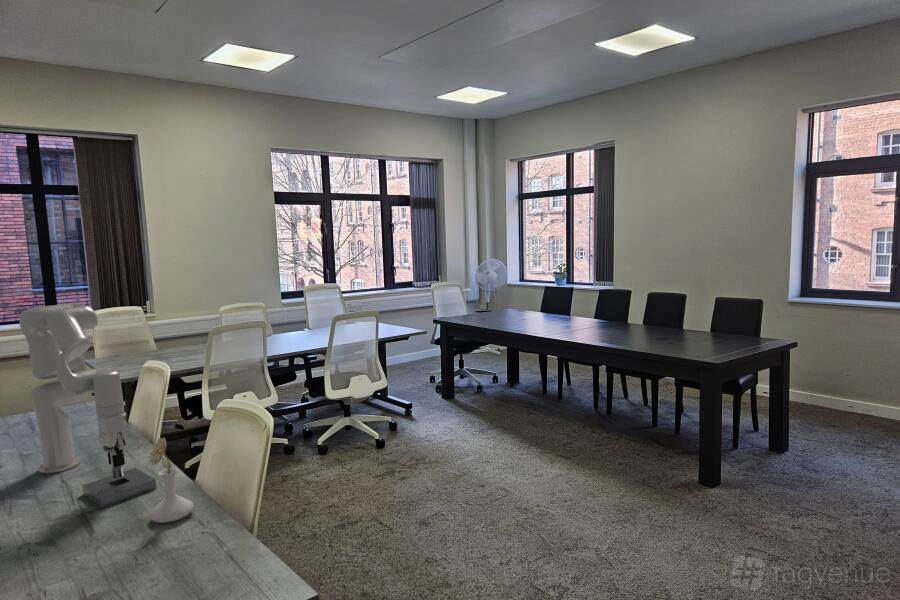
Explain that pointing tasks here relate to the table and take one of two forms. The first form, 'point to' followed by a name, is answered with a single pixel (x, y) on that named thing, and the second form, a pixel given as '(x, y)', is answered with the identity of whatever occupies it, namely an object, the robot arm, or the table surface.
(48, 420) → the robot arm
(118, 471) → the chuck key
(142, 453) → the table surface
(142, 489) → the block
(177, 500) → the flower in vase
